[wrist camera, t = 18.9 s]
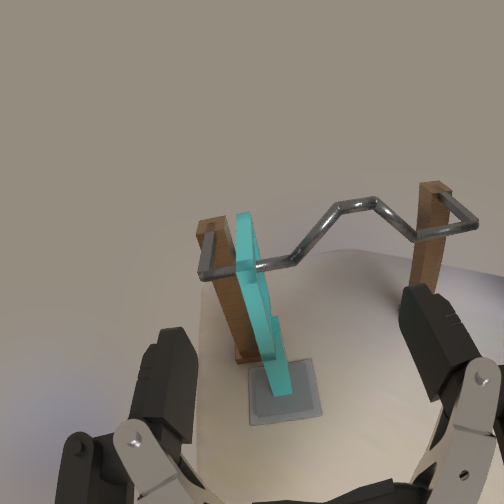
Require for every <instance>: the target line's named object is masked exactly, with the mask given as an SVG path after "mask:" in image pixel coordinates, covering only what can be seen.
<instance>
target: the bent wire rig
mask: <svg viewBox="0 0 504 504" xmlns="http://www.w3.org/2000/svg"><path fill="white" fill-rule="evenodd" d="M372 209H373V210H374V211H375V212H376V213H378V214H379V215H380V216H381V217H382V218H384V219H385V220H386V221H387V222H388V223H390V224H391V225H392V226H393V227H394V228H396V229H397V230H398V231H399V232H400V233H401V234H402V235H403V236H405V237H406V238H407V239H408V240H409V241H410V242H413V243H415V246H414V253H413V261H412V268H411V274H410V280H409V286H411V285H415V284H419V283H425V284H426V285H427V286H428V288H429V289H430V291H431V292H432V294H433V295H434V292H435V288H436V284H437V280H438V276H439V271H440V267H441V262H442V257H443V252H444V246H445V241H446V236H449V235H453V234H458V233H463V232H467V231H471V230H476V229H478V227H479V223H478V221H479V219H478V218H477V217H475V216H474V215H473V214H472V213H471V212H470V211H469V210H468V209H466V208H465V207H464V206H463V205H462V204H460V203H459V202H458V201H457V200H456V199H454V198H453V197H452V190H451V189H450V188H448V187H447V186H446V185H444V184H443V183H442V182H440V181H431V182H424V183H420V186H419V204H418V217H417V227H416V231H415V230H414V229H412V228H411V227H410V226H409V225H408V224H407V223H406V222H405V221H404V220H403V219H401V218H400V217H399V216H398V215H397V214H396V213H395V212H394V211H393V210H392V209H390V208H389V207H388V206H387V205H386V204H385V203H383V202H382V201H381V200H380V199H379V198H378V197H375V196H371V197H366V198H359V199H352V200H346V201H340V202H336V203H334V204H333V205H332V206H331V207H330V209H329V210H328V211H327V212H326V213H325V214H324V216H323V217H322V218H321V219H320V220H319V221H318V223H317V224H316V225H315V226H314V227H313V229H312V230H311V231H310V232H309V233H308V234H307V236H306V237H305V238H304V239H303V240H302V242H301V243H300V244H299V245H298V246H297V247H296V249H294V251H293V252H292V253H291V254H290V255H285V256H280V257H274V258H269V259H264V260H258V261H256V272H257V273H260V272H265V271H271V270H277V269H282V268H288V267H293V266H296V265H298V264H299V262H300V261H301V260H302V259H303V258H304V257H305V256H306V255H307V253H308V252H309V251H310V250H311V249H312V248H313V247H314V246H315V244H316V243H317V242H318V241H319V240H320V239H321V238H322V237H323V235H324V234H325V233H326V232H327V231H328V229H329V228H330V227H331V226H332V225H333V224H334V223H335V222H336V220H337V219H338V218H339V217H340V216H341V215H342V214H348V213H354V212H360V211H366V210H372ZM450 211H451V212H452V213H453V214H454V215H455V216H456V217H457V218H458V219H460V220H461V221H462V222H459V223H454V224H449V225H448V222H449V214H450ZM196 237H197V240H198V243H199V246H200V248H201V256H200V261H199V266H198V272H197V273H198V275H199V279H200V280H201V281H203V282H208V281H212V282H213V285H214V288H215V290H216V293H217V296H218V299H219V301H220V304H221V307H222V309H223V312H224V314H225V317H226V320H227V322H228V325H229V328H230V330H231V333H232V335H233V338H234V340H235V343H236V362H237V364H242V363H250V362H257V361H262V358H261V355H260V351H259V348H258V345H257V342H256V339H255V334H254V330H253V327H252V324H251V321H250V317H249V314H248V311H247V308H246V304H245V301H244V298H243V294H242V291H241V288H240V284H239V281H238V278H237V274H236V251H235V248H234V244H233V241H232V238H231V234H230V230H229V227H228V223H227V219H226V216H221V217H215V218H211V219H206V220H201V221H199V224H198V228H197V232H196ZM400 306H401V304H400V305H399V309H398V310H399V311H400Z"/></svg>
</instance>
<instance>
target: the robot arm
mask: <svg viewBox="0 0 504 504" xmlns="http://www.w3.org/2000/svg"><path fill="white" fill-rule="evenodd" d="M399 327H400V330H401V333H402V335H403V337H404V339H405V341H406V344H407V346H408V348H409V350H410V353H411V355H412V357H413V360H414V362H415V364H416V367H417V369H418V372H419V374H420V376H421V379H422V381H423V384H424V386H425V389H426V392H427V394H428V397H429V399H430V402H434V401H436V400H439V399H440V400H441V402H442V407H441V410H440V413H439V416H438V419H437V422H436V425H435V428H434V431H433V433H432V436H431V439H430V441H429V444H428V447H427V449H426V452H425V454H424V455H423V457H422V459H421V460H420V462H419V464H418V465H417V467H416V469H415V471H414V473H413V476H412V478H411V480H410V482H409V483H399V482H395V483H393V480H392V478H391V479H388V480H384V481H381V482H377V483H374V484H370V485H366V486H362V487H359V488H357V489H355V490H353V491H350V492H348V493H346V494H344V495H342V496H339V497H337V498H335V499H333V500H330V501H328V502H324V503H316V502H302V501H291V500H282V501H271V502H255V503H252V504H477V503H478V500H479V498H480V495H481V492H482V489H483V487H484V484H485V481H486V478H487V475H488V472H489V468H490V465H491V462H492V458H493V454H494V451H495V447H496V438H497V441H498V445H499V448H500V452H501V456H502V459H503V463H504V365H497V364H496V363H495V362H494V361H493V360H491V359H489V358H485V357H482V356H481V354H480V353H479V351H478V349H477V347H476V346H475V344H474V342H473V340H472V339H471V337H470V335H469V333H468V332H467V330H466V328H465V327H464V325H463V323H461V320H460V318H459V317H458V315H457V314H456V313H455V310H454V309H453V307H452V306H451V304H450V303H449V301H448V300H446V299H445V298H444V297H442V296H441V295H440V294H438V293H437V294H434V295H433V294H432V292H431V291H430V289H429V288H428V286H427V285H426V284H425V283H419V284H415V285H411V286H407V287H405V288H404V290H403V295H402V300H401V306H400V311H399ZM197 377H198V357H197V353H196V351H195V349H194V347H193V346H192V344H191V342H190V340H189V338H188V336H187V334H186V333H185V331H184V329H183V328H182V327H175V328H166V329H161V330H160V333H159V337H158V341H157V344H151V345H150V346H149V348H148V349H147V351H146V352H145V353H144V355H143V358H142V362H141V366H140V371H139V374H138V380H137V383H136V387H135V391H134V396H133V400H132V405H131V410H130V414H129V418H128V420H126V421H124V422H123V423H121V424H120V425H119V426H118V427H117V429H116V430H115V432H114V433H111V434H107V435H103V436H99V437H94V438H92V437H91V436H89V435H88V434H86V433H84V432H76V433H73V434H72V435H70V436H69V437H68V438H67V440H66V442H65V444H64V448H63V453H62V459H61V465H60V470H59V477H58V483H57V490H56V497H55V504H134V486H136V488H137V490H138V492H139V494H140V497H139V498H138V500H137V501H138V504H224V503H223V502H222V501H221V500H220V499H219V498H218V497H217V496H216V495H215V494H214V493H212V492H211V491H210V490H209V488H208V487H207V486H206V485H205V484H204V482H203V481H202V480H201V479H200V477H199V476H198V475H197V473H196V472H195V471H194V470H193V468H192V467H191V466H190V464H189V463H188V462H187V460H186V459H185V457H184V456H183V455H182V453H181V445H182V444H192V433H193V420H194V409H195V397H196V387H197ZM493 428H494V432H495V435H496V436H495V435H493V434H492V429H493Z"/></svg>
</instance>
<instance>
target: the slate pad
mask: <svg viewBox="0 0 504 504" xmlns="http://www.w3.org/2000/svg"><path fill="white" fill-rule="evenodd" d="M302 362H306V367H307V373H308V378H309V384H310V389H311V395H312V401H313V407H314V409H312V410H307V411H301V412H295V413H289V414H282V415H275V416H267V417H259V418H258V416H257V406H256V387H255V370H259V369H265V367H258V368H250V369H249V397H250V425H251V426H252V425H262V424H271V423H279V422H286V421H293V420H299V419H305V418H311V417H317V416H322V410H321V405H320V399H319V394H318V388H317V383H316V378H315V372H314V367H313V362H312V359H308V360H302V361H296V362H291V363H288V365H290V364H296V363H302Z"/></svg>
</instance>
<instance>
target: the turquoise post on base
mask: <svg viewBox="0 0 504 504" xmlns="http://www.w3.org/2000/svg"><path fill="white" fill-rule="evenodd" d="M258 260H261V258H260V253H259V249H258V244H257V240H256V236H255V231H254V227H253V222H252V218H251V214H250V212H245V213H240V214H237V230H236V274H237V278H238V281H239V284H240V288H241V291H242V294H243V298H244V301H245V304H246V308H247V311H248V314H249V317H250V321H251V324H252V327H253V330H254V334H255V339H256V342H257V345H258V348H259V351H260V355H261V358H262V361H263V364H264V367H265V369H259V370H255V387H256V406H257V416H258V418H259V417H267V416H275V415H282V414H289V413H295V412H301V411H307V410H312V409H314V407H313V401H312V395H311V389H310V384H309V378H308V373H307V367H306V362H302V363H296V364H290V365H288V363H287V358H286V353H285V349H284V344H283V339H282V334H281V329H280V325H279V320H278V316H274V317H272V315H271V306H270V297H269V293H268V288H267V284H266V279H265V275H264V272H260V273H257V272H256V261H258Z"/></svg>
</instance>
